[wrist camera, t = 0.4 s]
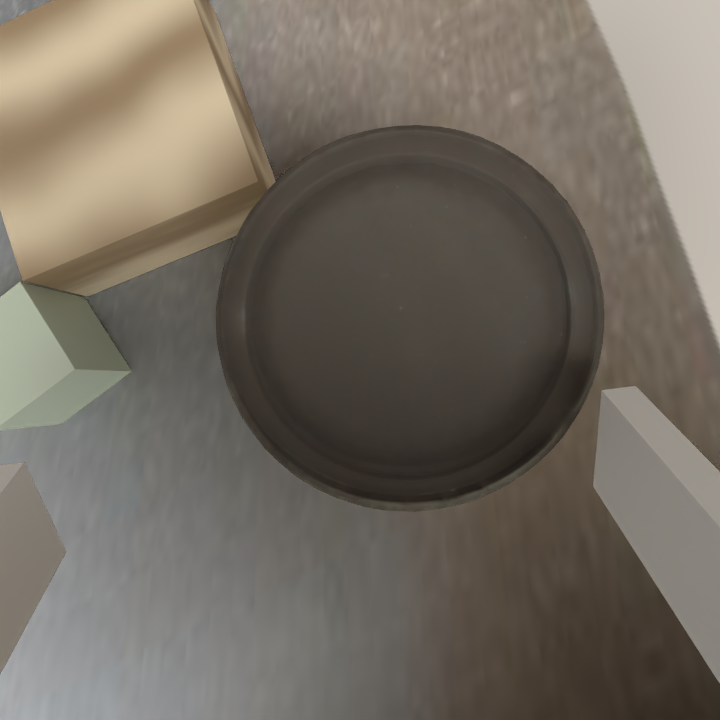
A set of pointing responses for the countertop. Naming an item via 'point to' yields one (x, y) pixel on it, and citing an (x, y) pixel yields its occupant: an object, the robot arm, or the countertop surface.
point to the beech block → (121, 140)
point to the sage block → (51, 357)
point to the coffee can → (410, 318)
